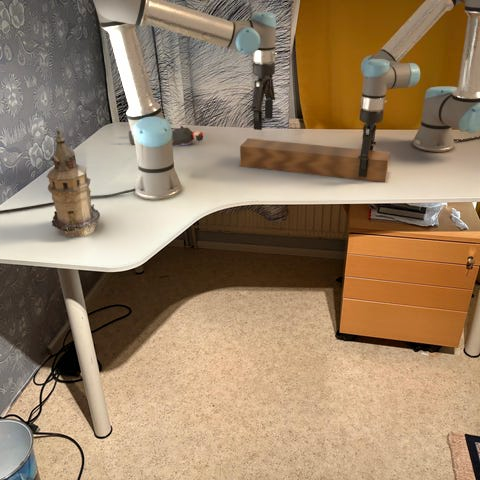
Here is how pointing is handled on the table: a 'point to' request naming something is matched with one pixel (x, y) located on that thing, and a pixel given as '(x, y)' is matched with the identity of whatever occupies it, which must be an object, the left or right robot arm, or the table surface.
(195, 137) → the toy
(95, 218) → the miniature building
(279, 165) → the wide beam
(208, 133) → the table surface
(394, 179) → the table surface
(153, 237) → the table surface
